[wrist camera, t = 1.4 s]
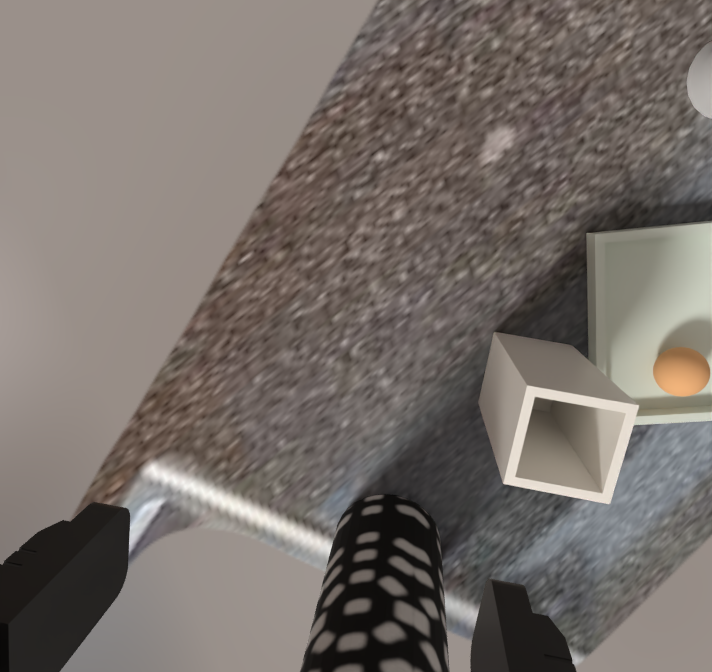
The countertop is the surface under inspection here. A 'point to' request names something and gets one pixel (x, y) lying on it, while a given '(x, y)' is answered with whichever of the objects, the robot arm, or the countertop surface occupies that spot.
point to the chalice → (701, 81)
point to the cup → (554, 418)
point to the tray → (651, 311)
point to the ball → (681, 371)
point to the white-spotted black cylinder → (381, 593)
